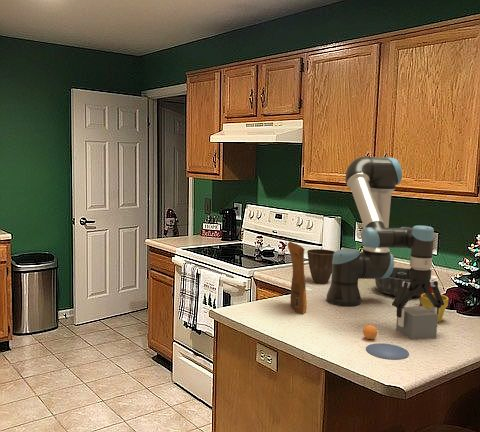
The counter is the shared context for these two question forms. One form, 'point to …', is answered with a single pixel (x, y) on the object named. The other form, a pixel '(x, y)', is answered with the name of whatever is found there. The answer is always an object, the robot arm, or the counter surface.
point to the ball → (370, 332)
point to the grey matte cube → (418, 323)
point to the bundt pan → (394, 281)
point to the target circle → (387, 351)
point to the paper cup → (430, 286)
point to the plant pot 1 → (320, 264)
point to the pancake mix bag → (298, 279)
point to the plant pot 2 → (427, 304)
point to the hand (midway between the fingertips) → (416, 324)
